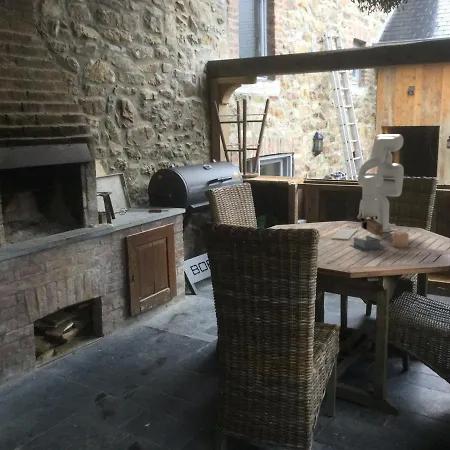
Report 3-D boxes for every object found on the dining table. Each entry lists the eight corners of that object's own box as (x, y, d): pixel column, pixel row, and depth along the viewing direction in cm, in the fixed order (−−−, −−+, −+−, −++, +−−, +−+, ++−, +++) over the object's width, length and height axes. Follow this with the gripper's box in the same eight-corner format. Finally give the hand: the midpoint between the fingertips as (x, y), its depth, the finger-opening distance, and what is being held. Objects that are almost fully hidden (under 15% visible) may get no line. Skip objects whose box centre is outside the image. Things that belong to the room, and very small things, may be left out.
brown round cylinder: (402, 244, 290) (403, 231, 289) (411, 247, 282) (411, 234, 281) (389, 245, 288) (390, 232, 287) (398, 248, 280) (398, 235, 279)
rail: (367, 226, 307) (367, 216, 306) (382, 234, 288) (382, 224, 286) (361, 227, 306) (361, 217, 305) (375, 235, 287) (375, 225, 286)
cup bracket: (369, 243, 292) (369, 235, 291) (382, 249, 278) (383, 240, 278) (350, 245, 289) (350, 236, 288) (363, 251, 275) (363, 241, 274)
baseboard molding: (327, 239, 307) (348, 241, 302) (328, 235, 306) (348, 236, 302) (338, 230, 335) (357, 231, 330) (339, 225, 334) (357, 226, 329)
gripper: (378, 194, 302) (378, 225, 306) (352, 197, 298) (352, 228, 302) (385, 197, 295) (385, 228, 299) (359, 199, 291) (358, 231, 295)
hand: (368, 227), depth 301 cm, fingers closed on rail, 4 cm apart
